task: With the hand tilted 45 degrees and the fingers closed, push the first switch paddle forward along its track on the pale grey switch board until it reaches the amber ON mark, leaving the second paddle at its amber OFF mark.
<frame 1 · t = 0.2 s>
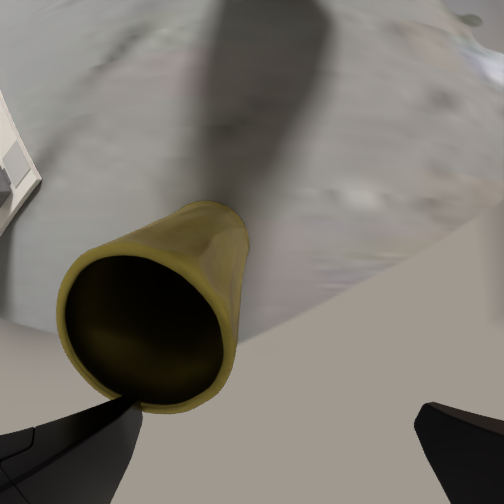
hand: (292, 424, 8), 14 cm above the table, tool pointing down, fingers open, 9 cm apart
vase: (206, 243, 21), on the table
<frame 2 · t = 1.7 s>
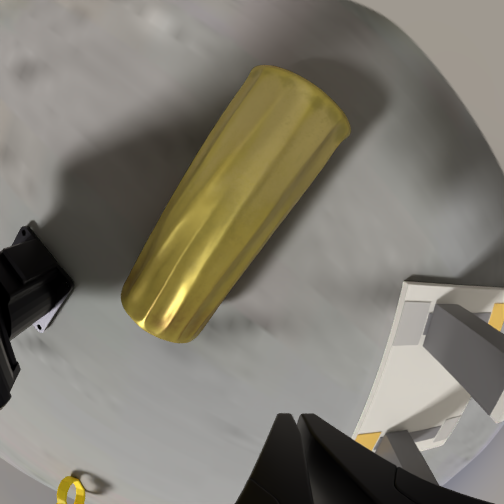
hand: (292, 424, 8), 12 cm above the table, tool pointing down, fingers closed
switch 2: (407, 479, 17), point 6 cm above the table, slide at 0.0 cm
yellow ring: (78, 482, 25), on the table
vase: (305, 96, 14), point 3 cm above the table
switch 1: (477, 355, 14), point 6 cm above the table, slide at 0.0 cm
switch board: (431, 383, 22), on the table
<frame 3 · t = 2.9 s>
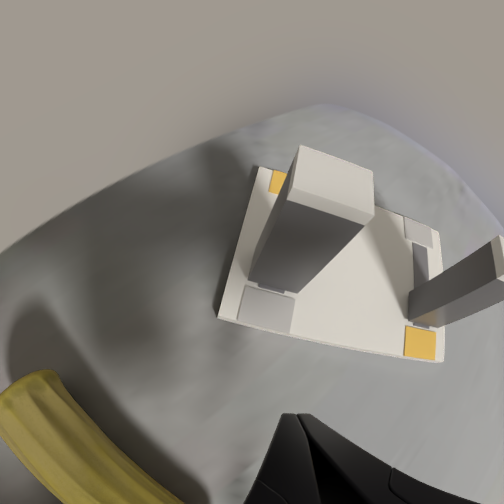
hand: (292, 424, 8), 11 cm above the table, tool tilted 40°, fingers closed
switch 2: (465, 290, 17), point 6 cm above the table, slide at 0.0 cm
vase: (19, 394, 12), point 3 cm above the table
switch 1: (299, 235, 16), point 6 cm above the table, slide at 0.0 cm
switch board: (354, 268, 23), on the table
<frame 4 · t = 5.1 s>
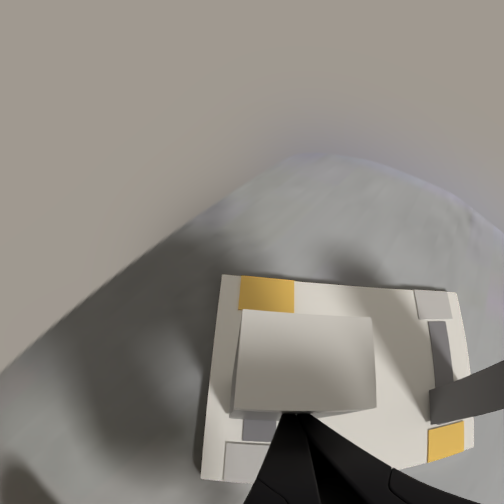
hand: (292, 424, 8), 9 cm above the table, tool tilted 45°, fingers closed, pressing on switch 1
switch 2: (498, 387, 11), point 6 cm above the table, slide at 0.0 cm
switch 1: (277, 388, 11), point 6 cm above the table, slide at 1.1 cm, touching gripper
switch board: (361, 380, 17), on the table
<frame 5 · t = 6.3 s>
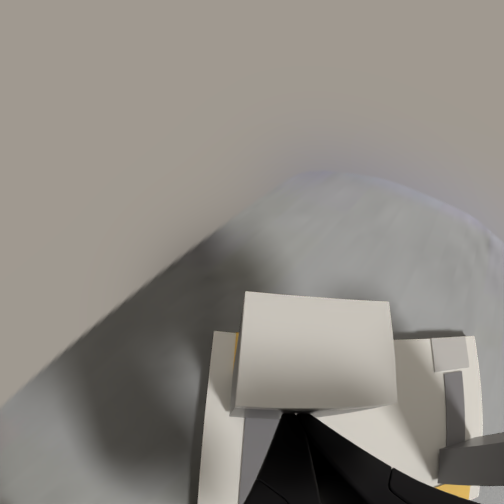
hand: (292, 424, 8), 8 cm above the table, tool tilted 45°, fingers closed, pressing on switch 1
switch 1: (281, 383, 10), point 6 cm above the table, slide at 5.5 cm, touching gripper
switch board: (368, 443, 14), on the table
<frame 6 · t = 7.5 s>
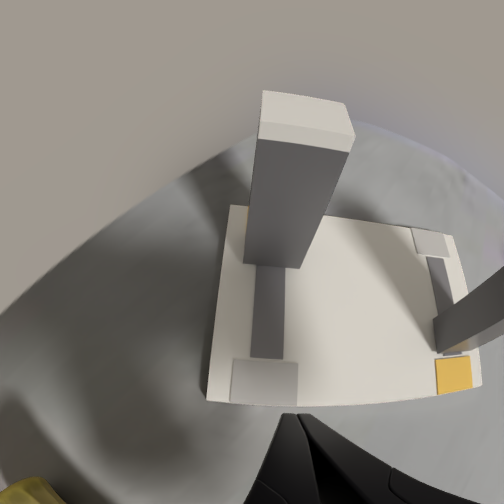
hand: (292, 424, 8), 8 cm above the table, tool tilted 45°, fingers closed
switch 2: (500, 306, 12), point 6 cm above the table, slide at 0.0 cm
vase: (10, 499, 7), point 3 cm above the table
switch 1: (286, 195, 15), point 6 cm above the table, slide at 5.5 cm
switch board: (365, 305, 19), on the table
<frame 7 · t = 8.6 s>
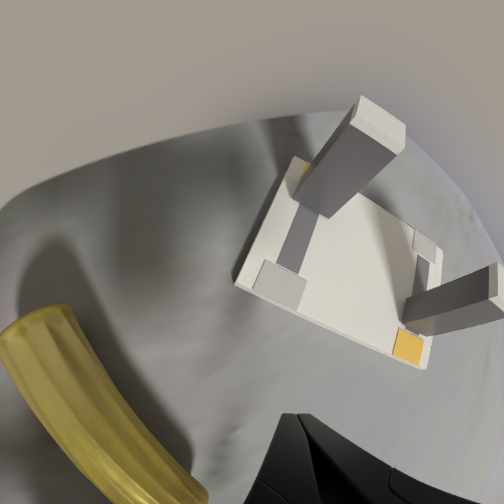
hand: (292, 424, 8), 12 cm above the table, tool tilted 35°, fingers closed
switch 2: (458, 305, 19), point 6 cm above the table, slide at 0.0 cm
vase: (30, 325, 14), point 3 cm above the table
switch 1: (344, 164, 20), point 6 cm above the table, slide at 5.5 cm
switch board: (362, 266, 25), on the table
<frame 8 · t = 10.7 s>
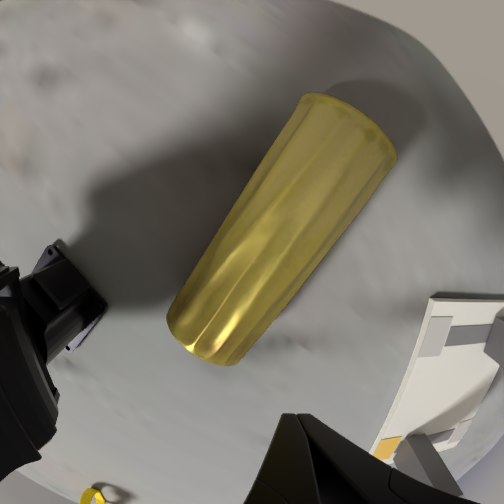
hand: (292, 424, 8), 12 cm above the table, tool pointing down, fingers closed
switch 2: (427, 479, 17), point 6 cm above the table, slide at 0.0 cm
yellow ring: (98, 493, 26), on the table
vase: (352, 124, 14), point 3 cm above the table
switch board: (447, 389, 22), on the table
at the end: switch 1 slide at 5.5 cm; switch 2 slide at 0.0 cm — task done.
